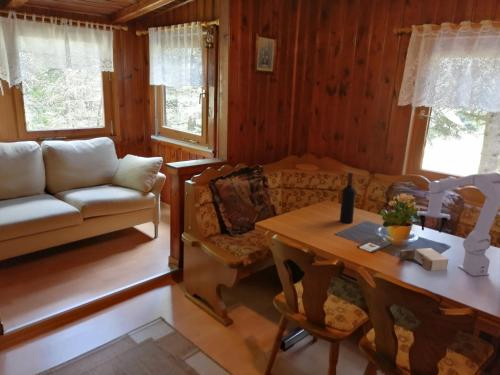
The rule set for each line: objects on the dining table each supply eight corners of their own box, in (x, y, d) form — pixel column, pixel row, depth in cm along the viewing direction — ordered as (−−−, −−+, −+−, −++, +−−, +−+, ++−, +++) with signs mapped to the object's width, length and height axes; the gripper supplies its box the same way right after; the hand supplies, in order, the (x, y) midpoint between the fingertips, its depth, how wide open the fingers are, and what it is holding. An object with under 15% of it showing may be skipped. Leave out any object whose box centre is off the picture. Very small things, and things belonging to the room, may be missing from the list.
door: (399, 260, 172) (401, 251, 171) (398, 259, 173) (399, 250, 172) (414, 259, 174) (415, 249, 173) (413, 258, 175) (414, 248, 174)
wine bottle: (337, 220, 225) (341, 172, 217) (347, 218, 228) (351, 171, 220) (345, 224, 218) (349, 175, 211) (355, 222, 221) (360, 174, 214)
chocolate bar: (392, 243, 191) (372, 252, 180) (392, 245, 191) (372, 254, 180) (376, 237, 197) (357, 246, 186) (376, 239, 198) (356, 247, 186)
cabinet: (446, 269, 165) (448, 259, 163) (426, 270, 163) (428, 260, 161) (429, 257, 176) (430, 248, 175) (410, 259, 174) (411, 249, 173)
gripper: (450, 204, 181) (446, 230, 185) (418, 200, 186) (414, 226, 190) (452, 208, 175) (448, 235, 178) (419, 204, 180) (415, 230, 183)
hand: (431, 230), depth 184 cm, fingers open, 7 cm apart
